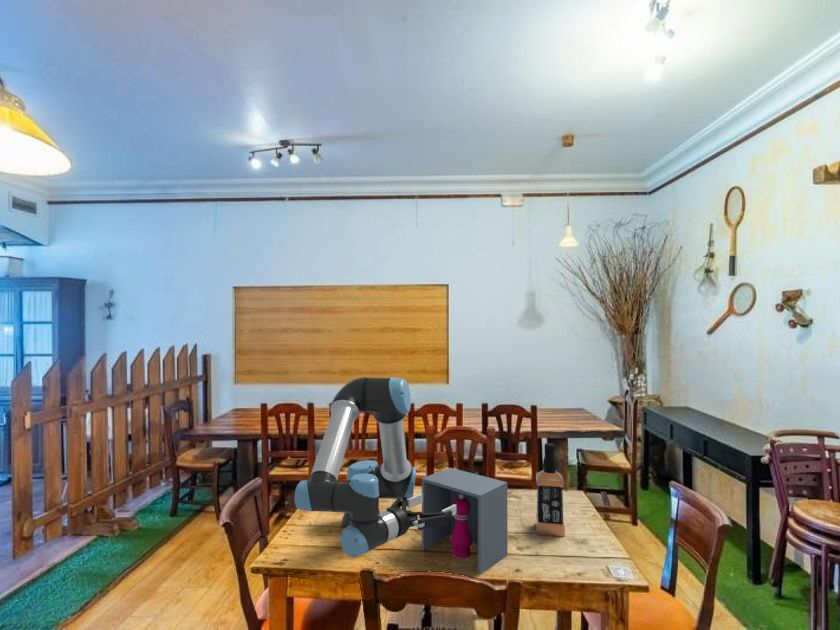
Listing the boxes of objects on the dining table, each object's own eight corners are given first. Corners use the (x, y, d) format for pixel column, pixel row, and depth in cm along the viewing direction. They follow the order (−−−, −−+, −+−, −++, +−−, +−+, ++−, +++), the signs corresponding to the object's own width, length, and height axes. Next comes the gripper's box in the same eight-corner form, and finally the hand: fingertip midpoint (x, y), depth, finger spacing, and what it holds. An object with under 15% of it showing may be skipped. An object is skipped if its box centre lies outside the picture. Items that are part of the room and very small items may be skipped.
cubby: (421, 549, 155) (421, 478, 156) (450, 533, 167) (450, 467, 168) (480, 574, 139) (480, 495, 140) (507, 555, 151) (507, 482, 152)
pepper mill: (454, 560, 148) (455, 498, 148) (447, 550, 155) (447, 490, 155) (475, 557, 150) (475, 496, 150) (467, 547, 157) (467, 488, 157)
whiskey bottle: (565, 537, 165) (564, 448, 166) (537, 534, 167) (536, 446, 168) (562, 524, 175) (561, 441, 176) (535, 522, 177) (535, 439, 178)
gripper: (360, 525, 135) (408, 505, 151) (424, 553, 119) (470, 526, 135) (360, 500, 136) (409, 482, 151) (424, 523, 119) (470, 501, 135)
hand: (438, 503), depth 143 cm, fingers open, 13 cm apart
